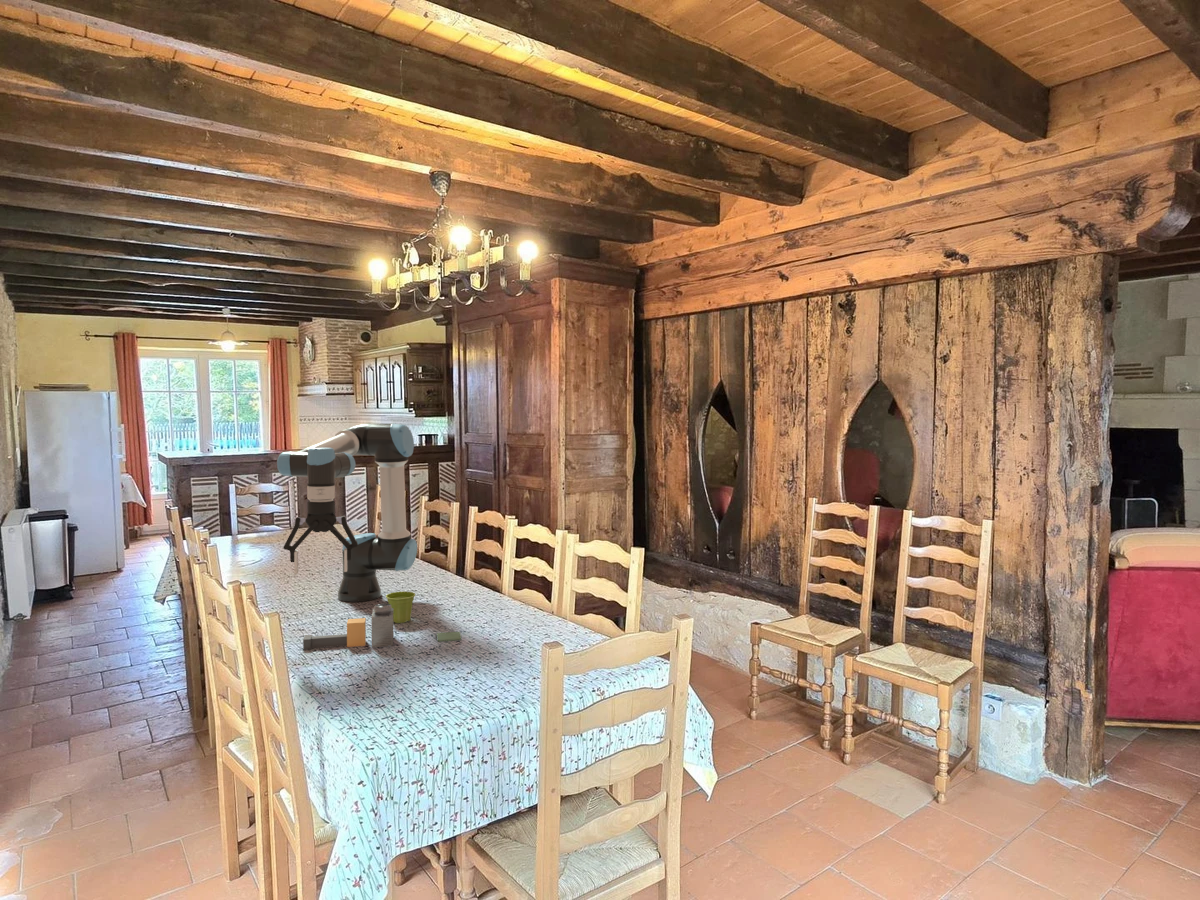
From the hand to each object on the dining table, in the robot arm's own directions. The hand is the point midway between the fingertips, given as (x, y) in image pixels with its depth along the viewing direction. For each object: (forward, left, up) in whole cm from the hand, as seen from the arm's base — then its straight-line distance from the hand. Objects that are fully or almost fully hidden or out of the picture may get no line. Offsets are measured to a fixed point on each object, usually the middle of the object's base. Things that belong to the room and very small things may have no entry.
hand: (321, 572), depth 208 cm
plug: (+1, +4, -22) cm, 22 cm away
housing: (+1, +17, -22) cm, 28 cm away
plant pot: (-20, +22, -22) cm, 37 cm away
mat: (+1, +37, -22) cm, 43 cm away
